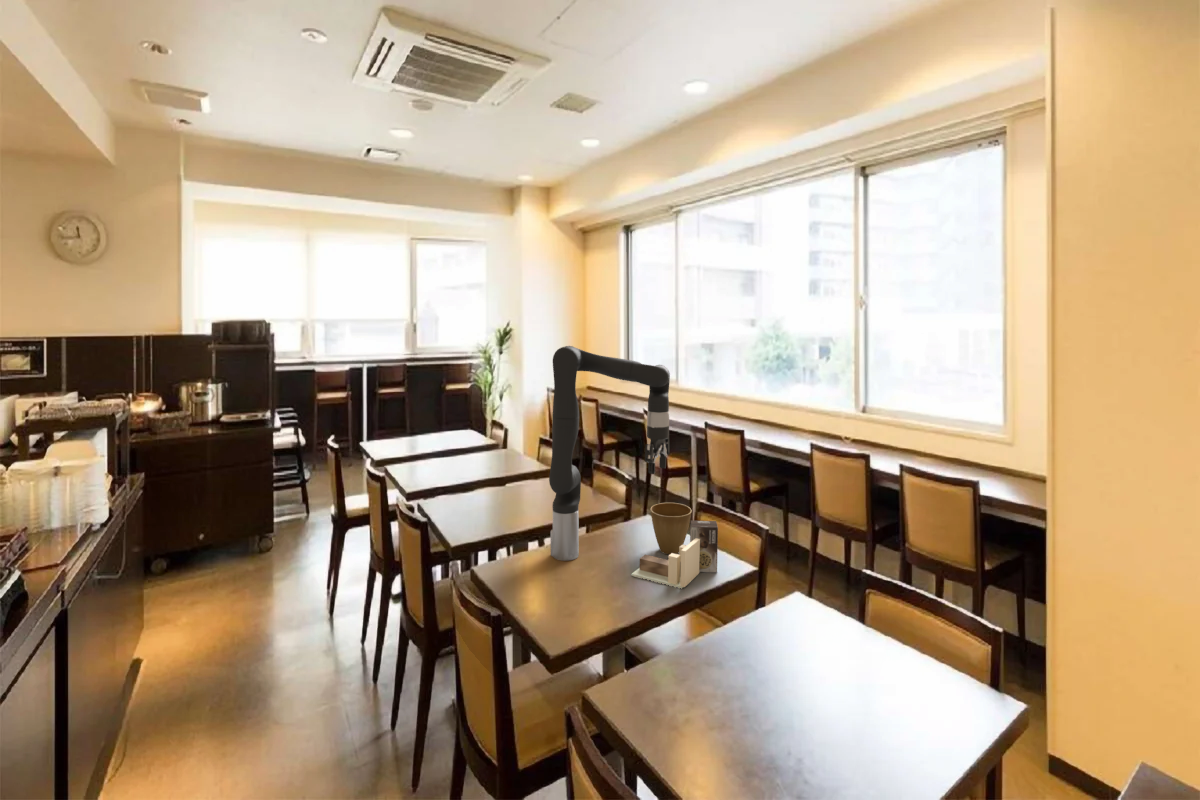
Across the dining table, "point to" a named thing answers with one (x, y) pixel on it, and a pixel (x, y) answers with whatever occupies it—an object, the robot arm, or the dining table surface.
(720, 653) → the dining table surface
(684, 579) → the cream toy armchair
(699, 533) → the coffee box
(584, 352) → the robot arm
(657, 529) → the plant pot
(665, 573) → the rail
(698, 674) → the dining table surface
